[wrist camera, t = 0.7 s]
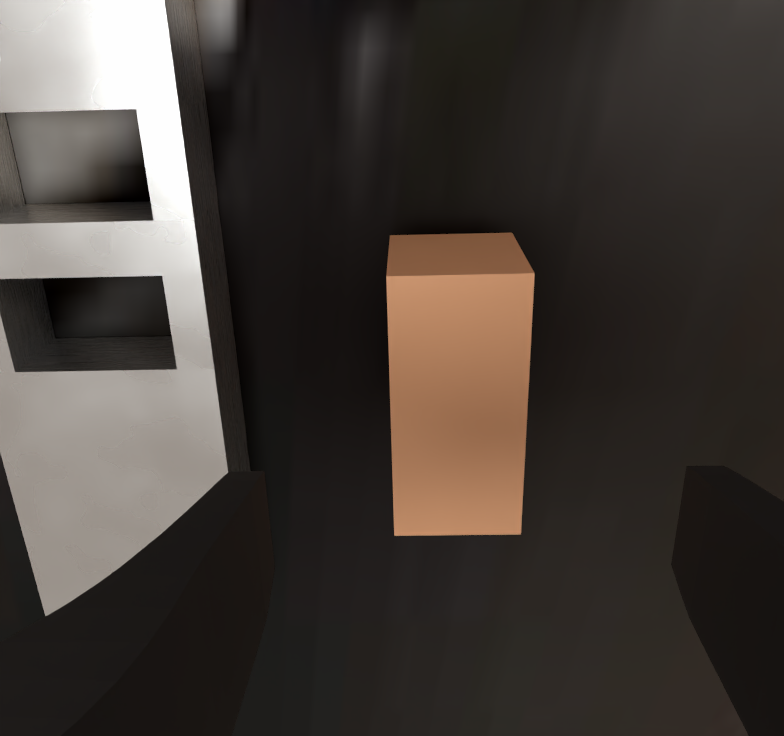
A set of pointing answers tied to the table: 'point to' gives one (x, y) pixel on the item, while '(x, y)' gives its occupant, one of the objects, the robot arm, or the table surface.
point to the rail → (113, 259)
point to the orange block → (458, 381)
